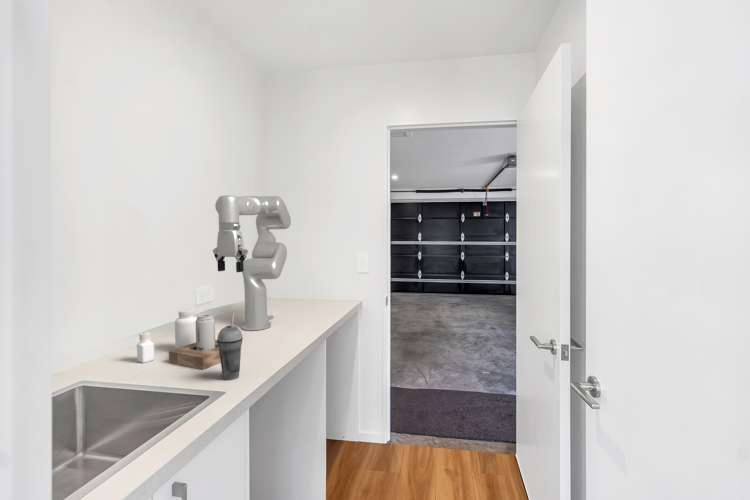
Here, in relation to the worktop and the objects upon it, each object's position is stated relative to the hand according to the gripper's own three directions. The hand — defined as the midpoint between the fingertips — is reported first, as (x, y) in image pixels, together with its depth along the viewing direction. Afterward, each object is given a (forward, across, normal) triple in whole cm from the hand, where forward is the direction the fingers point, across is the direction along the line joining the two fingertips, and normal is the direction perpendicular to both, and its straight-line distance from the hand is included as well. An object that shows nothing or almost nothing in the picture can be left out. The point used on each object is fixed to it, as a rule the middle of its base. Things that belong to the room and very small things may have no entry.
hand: (230, 271), depth 149 cm
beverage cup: (+28, -27, +27) cm, 48 cm away
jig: (+28, -6, +18) cm, 34 cm away
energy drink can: (+28, -6, +18) cm, 34 cm away
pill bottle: (+28, +8, +14) cm, 33 cm away
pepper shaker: (+28, +11, +28) cm, 41 cm away
